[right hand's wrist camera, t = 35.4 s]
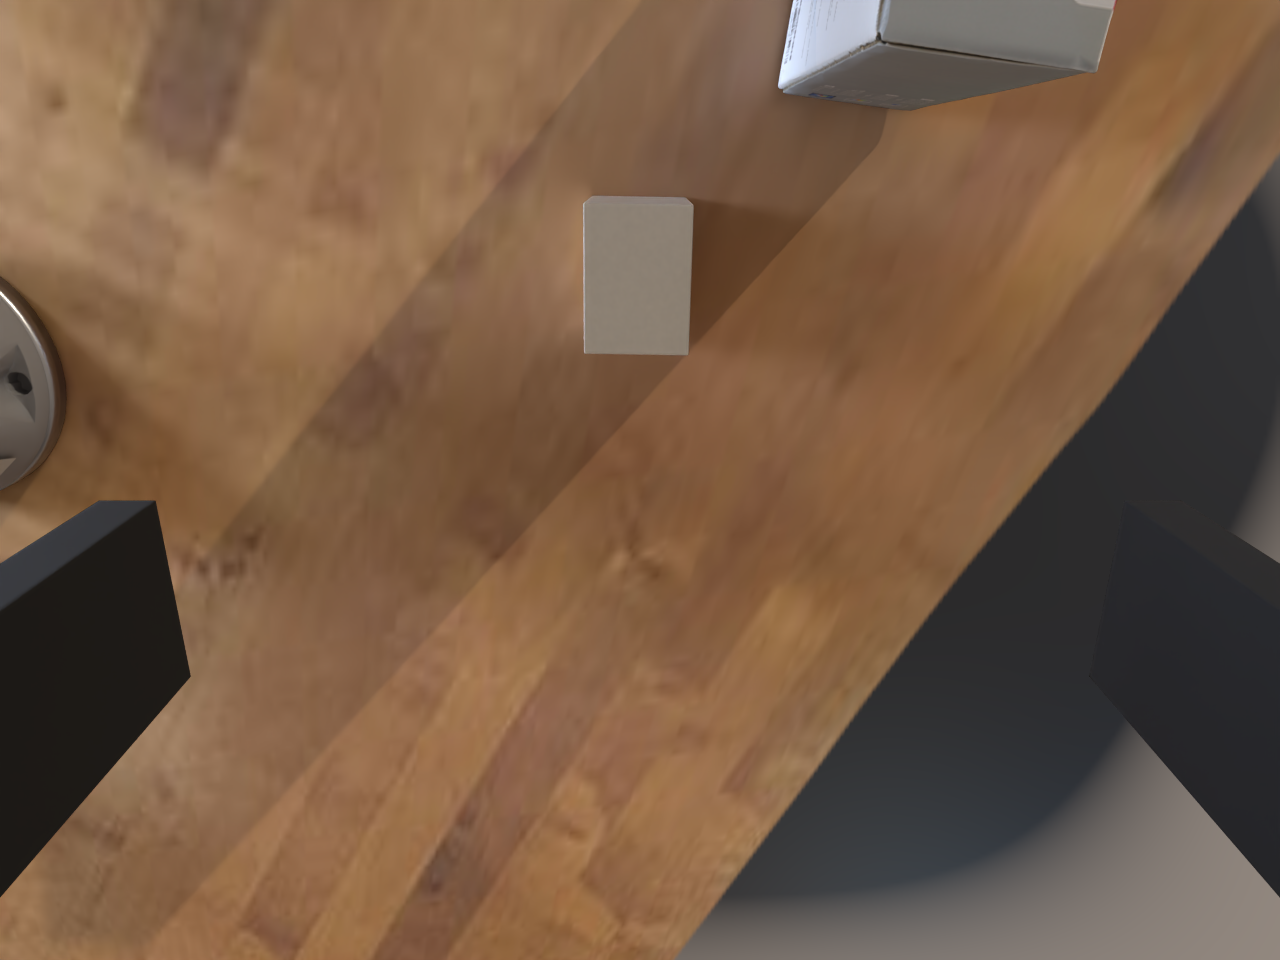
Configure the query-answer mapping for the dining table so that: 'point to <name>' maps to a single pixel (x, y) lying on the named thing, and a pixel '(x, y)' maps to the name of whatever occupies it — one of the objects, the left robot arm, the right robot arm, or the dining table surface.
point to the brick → (637, 274)
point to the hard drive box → (937, 48)
